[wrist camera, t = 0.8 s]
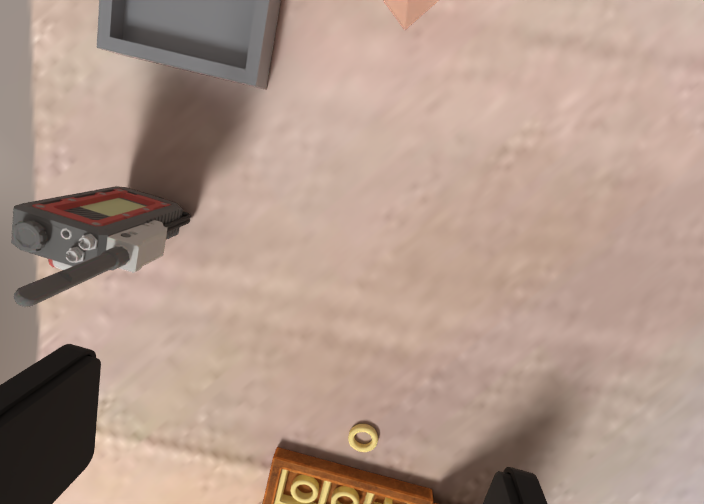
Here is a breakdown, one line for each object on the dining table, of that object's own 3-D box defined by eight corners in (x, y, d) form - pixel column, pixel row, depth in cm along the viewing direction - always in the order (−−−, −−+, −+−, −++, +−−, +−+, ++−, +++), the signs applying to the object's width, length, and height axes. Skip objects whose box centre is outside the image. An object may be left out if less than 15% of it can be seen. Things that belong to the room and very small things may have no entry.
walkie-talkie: (215, 210, 39) (42, 281, 20) (206, 254, 40) (35, 362, 21) (124, 181, 39) (-135, 226, 20) (118, 226, 41) (-132, 309, 21)
